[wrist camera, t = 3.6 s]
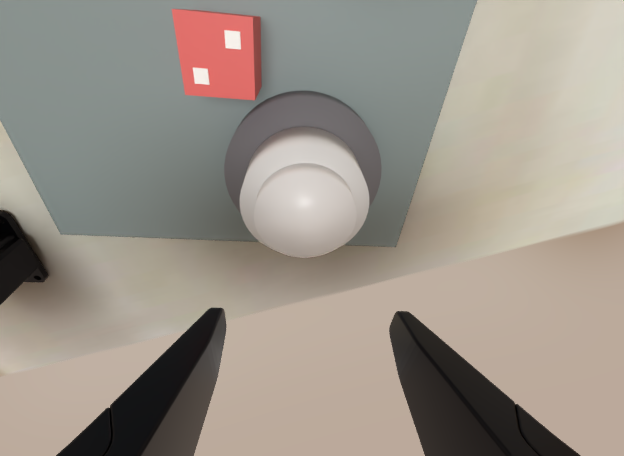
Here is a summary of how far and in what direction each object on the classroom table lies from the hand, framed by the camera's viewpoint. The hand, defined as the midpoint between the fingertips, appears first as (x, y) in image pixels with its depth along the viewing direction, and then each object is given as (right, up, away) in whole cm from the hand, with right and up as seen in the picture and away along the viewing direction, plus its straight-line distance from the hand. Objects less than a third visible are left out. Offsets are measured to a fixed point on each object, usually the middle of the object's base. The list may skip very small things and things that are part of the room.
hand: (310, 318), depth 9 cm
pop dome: (0, +5, +7) cm, 9 cm away
